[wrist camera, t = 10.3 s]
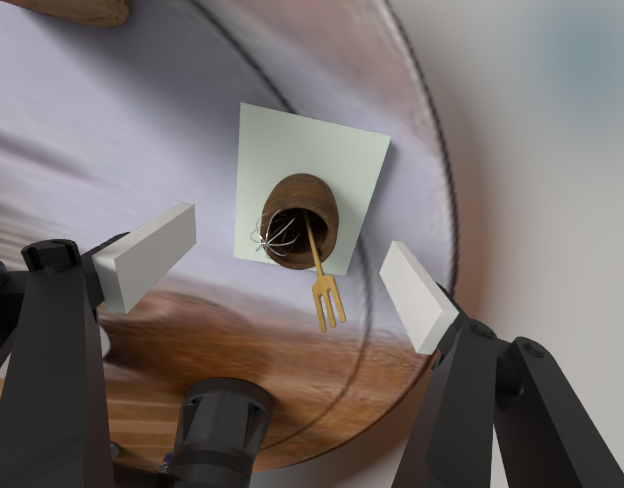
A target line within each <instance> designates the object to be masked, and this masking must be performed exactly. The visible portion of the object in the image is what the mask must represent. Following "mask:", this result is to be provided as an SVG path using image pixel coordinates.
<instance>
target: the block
mask: <svg viewBox="0 0 624 488" xmlns="http://www.w3.org/2000/svg"><path fill="white" fill-rule="evenodd" d="M0 1H3V2H7V3H10V4H13V5H16V6H20V7H23V8H26V9H30V10H33V11H37V12H39V13H42V14H45V15H48V16H52V17H55V18H59V19H62V20H66V21H70V22H74V23H79V24H83V25H89V26H95V27H115V26H119V25H122V24H124V23H125V22H126V20H127V19H128V17H129V1H128V0H0Z"/></svg>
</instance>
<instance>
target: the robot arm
mask: <svg viewBox="0 0 624 488" xmlns="http://www.w3.org/2000/svg"><path fill="white" fill-rule="evenodd" d="M195 243H196V228H195V204H190V203H185V202H181V203H179V204H178V205H176V206H174V207H173V208H171V209H169V210H168V211H166V212H164V213H163V214H161V215H159V216H158V217H156V218H154V219H153V220H151V221H149V222H148V223H146V224H144V225H143V226H141V227H139V228H137V229H136V230H134V231H132V232H126V233H123V234H120V235H116V236H114V237H113V238H111V239H109V240H107V242H104V243H102V244H100V246H97V247H95V248H93V249H91V250H90V251H88V252H86V253H84V254H83V255H81V256H80V253H79V250H78V247H77V244H76V243H75V242H74V241H71V240H66V239H51V240H45V241H40V242H36V243H33V244H30V245H28V246H26V247H24V248H23V249H22V250H21V253H22V256H23V258H24V260H25V262H26V265H27V267H28V269H29V271H7V269H6V267H5V265H4V264H3V263H2V261H0V368H1V366H2V365H3V363H4V362H5V360H6V359H7V357H8V356H9V354H10V353H11V356H10V360H9V365H8V369H7V374H6V378H5V382H4V386H3V391H2V395H1V400H0V488H249V485H250V479H251V474H252V469H253V464H254V461H255V459H256V456H257V454H258V452H259V449H260V447H261V445H262V442H263V440H264V438H265V435H266V433H267V430H268V428H269V426H270V423H271V419H272V412H273V401H272V399H271V397H270V396H269V395H268V394H267V393H266V392H265V391H264V390H263V389H261V388H259V387H258V386H256V385H254V384H251V383H249V382H246V381H242V380H238V379H231V378H213V379H207V380H203V381H201V382H198V383H196V384H194V385H193V386H192V387H191V388H190V389H189V390H188V392H187V394H186V396H185V398H184V400H183V403H182V405H181V408H180V414H179V420H178V426H177V432H176V438H175V445H174V451H173V454H172V457H171V459H170V461H169V464H168V466H167V469H166V471H165V473H161V472H157V471H154V470H150V469H146V468H143V467H139V466H136V465H132V464H128V463H125V462H121V461H118V460H114V459H112V454H111V443H110V433H109V422H108V412H107V401H106V391H105V381H104V370H103V360H102V349H101V339H100V328H99V318H98V312H97V308H96V307H97V306H99V305H100V304H101V303H102V302H103V301H104V302H105V305H106V309H107V312H115V313H122V314H127V313H128V312H129V311H130V310H131V309H132V308H133V307H134V306H135V305H136V304H137V303H138V302H139V301H140V300H141V299H142V298H143V297H144V296H145V295H146V294H147V292H148V291H149V290H150V289H151V288H152V287H153V286H154V285H155V284H156V283H157V282H158V281H159V280H160V279H161V278H162V277H163V276H164V275H165V274H166V273H167V272H168V271H169V270H170V269H171V268H172V267H173V266H174V265H175V264H176V263H177V262H178V261H179V260H180V259H181V258H182V257H183V256H184V255H185V254H186V252H187V251H188V250H189V249H190V248H191V247H192V246H193V245H194V244H195ZM379 274H380V276H381V278H382V280H383V282H384V284H385V286H386V288H387V291H388V293H389V295H390V297H391V299H392V301H393V303H394V306H395V308H396V310H397V312H398V314H399V316H400V318H401V321H402V323H403V325H404V327H405V329H406V331H407V333H408V336H409V338H410V340H411V342H412V344H413V346H414V348H415V351H416V353H422V354H429V355H432V353H433V352H434V350H435V349H436V347H437V346H438V348H439V350H440V351H441V355H440V356H439V357H438V359H437V360H436V362H435V363H434V365H433V366H432V368H431V369H432V370H433V373H432V376H431V379H430V381H429V384H428V387H427V390H426V393H425V395H424V398H423V401H422V404H421V406H420V409H419V412H418V415H417V418H416V420H415V423H414V426H413V428H412V431H411V434H410V437H409V440H408V442H407V445H406V448H405V451H404V453H403V456H402V459H401V462H400V464H399V467H398V470H397V473H396V475H395V478H394V481H393V484H392V486H391V488H490V479H491V461H492V441H493V423H494V427H495V431H496V435H497V440H498V444H499V448H500V452H501V457H502V461H503V465H504V469H505V473H506V478H507V482H508V486H509V488H624V473H623V472H622V470H621V469H620V467H619V465H618V463H617V462H616V460H615V458H614V457H613V455H612V453H611V452H610V450H609V449H608V447H607V445H606V443H605V442H604V440H603V438H602V437H601V435H600V434H599V432H598V430H597V429H596V427H595V425H594V424H593V422H592V420H591V419H590V417H589V416H588V414H587V412H586V410H585V409H584V407H583V406H582V404H581V402H580V400H579V399H578V397H577V395H576V394H575V392H574V391H573V389H572V387H571V385H570V384H569V382H568V380H567V379H566V377H565V375H564V374H563V372H562V371H561V369H560V367H559V366H558V364H557V362H556V361H555V359H554V357H553V356H552V355H551V354H550V352H548V351H547V350H546V349H545V348H544V347H543V346H542V345H539V343H537V342H535V341H533V340H530V339H528V338H525V337H517V338H516V339H515V340H514V341H513V342H512V343H509V342H507V341H504V340H501V339H499V338H497V336H496V334H495V333H494V332H493V331H492V330H491V329H490V328H489V327H488V326H486V325H485V324H483V323H482V322H480V321H477V320H475V319H470V318H469V317H468V316H467V315H466V314H465V312H463V310H462V309H461V308H460V306H459V305H458V304H457V303H456V302H455V300H454V299H453V298H452V297H450V294H449V293H448V292H447V291H446V289H445V288H443V287H442V286H441V285H439V284H438V283H436V282H434V280H433V279H432V278H431V277H430V275H429V274H428V273H427V272H426V270H425V269H424V268H423V267H422V265H421V264H420V263H419V262H418V260H417V259H416V258H415V256H414V255H413V254H412V253H411V251H410V250H409V249H408V248H407V246H406V245H405V244H404V243H403V242H399V241H392V243H391V246H390V248H389V251H388V253H387V255H386V258H385V260H384V263H383V265H382V268H381V270H380V273H379Z"/></svg>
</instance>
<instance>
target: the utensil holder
mask: <svg viewBox="0 0 624 488" xmlns="http://www.w3.org/2000/svg"><path fill="white" fill-rule="evenodd" d="M260 218H261V226H260V227H258V228H260V234H259V232H258V228H257V222H258V220H259V219H260ZM260 218H259V219H258V220H257V221H256V228H257V229H256V230H257V232H258V234H259V236H260V239H261V243H260V242H257V241H254V240H253V239H252V238H251V235H252V233H254V232H255V231H256V230H254V231H253V232H252V233H251V234H250V238H251V240H253V241H254V242H257V243H260V244H261V245H262V247H261V248H263V249H264V250H265V252H266V256H267V255H268V256H269V257H270V258H268V256H267V258H268V259H272V260H273V261H274V262H276V263H277V264H279V265H281V266H283V267H286V268H289V269H295V270H304V269H310V268H313V267H315V266H316V269H317V273H318V280H317V281H316V282H315V284H314V285H313V287H312V291H313V296H314V300H315V305H316V309H317V314H318V319H319V323H320V328H321V332H322V333H325V332H326V331H327V328H326V323H325V318H324V313H323V308H322V303H321V299H320V298H321V296H322V295H323V298H324V302H325V306H326V310H327V314H328V318H329V322H330V326H331V327H332V328H334V327H336V321H335V317H334V313H333V309H332V305H331V300H330V296H329V291H330V290H331V291H332V294H333V297H334V301H335V304H336V308H337V311H338V314H339V318H340V321H341V322H345V321H346V317H345V313H344V310H343V306H342V303H341V299H340V296H339V292H338V289H337V285H336V282H335V279H334V277H332V276H331V275H325V276H324V273H323V269H322V265H321V263H323V262H324V261H325V260H326V259H327V258H328V257H329V256H330V255H331V253H332V252H333V250H334V247H335V245H336V241H337V234H338V228H339V213H338V208H337V204H336V201H335V198H334V195H333V193H332V191H331V189H330V188H329V186H328V185H327V184H326V183H325V182H324V181H323V180H321V179H320V178H318V177H316V176H314V175H311V174H306V173H298V174H293V175H290V176H288V177H286V178H284V179H283V180H281V181H280V182H279V183H278V184H277V185H276V186H275V187H274V189H273V190H272V192H271V193H270V195H269V197H268V199H267V200H266V202H265V205H264V207H263V211H262V216H261V217H260ZM261 245H260V246H261ZM260 246H259V247H260ZM259 247H258V248H257V249H256V252H257V251H258V250H260V249H261V248H260V249H259Z"/></svg>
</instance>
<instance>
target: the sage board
mask: <svg viewBox="0 0 624 488" xmlns="http://www.w3.org/2000/svg"><path fill="white" fill-rule="evenodd" d="M390 140H391V136H387V135H383V134H378V133H374V132H369V131H365V130H361V129H356V128H352V127H347V126H343V125H339V124H334V123H330V122H326V121H321V120H317V119H312V118H308V117H304V116H299V115H295V114H290V113H286V112H282V111H277V110H273V109H268V108H264V107H260V106H255V105H251V104H247V103H242V102H240V125H239V148H238V171H237V194H236V217H235V240H234V257H235V258H241V259H247V260H253V261H259V262H265V263H271V264H277V263H276V262H274V261H273V260H272V259H268V258H270V257H269V256H268V255H267V256H268V258H267V256H266V252H265V250H264V249H263V248H261V247H262V245H261V244H260V243H261V239H260V236H259V234H260V228H258V227H260V226H261V218H260V217H261V216H262V211H263V207H264V205H265V202H266V200H267V199H268V197H269V195H270V193H271V192H272V190H273V189H274V187H275V186H276V185H277V184H278V183H279V182H280V181H281V180H283V179H284V178H286V177H288V176H290V175H293V174H298V173H306V174H311V175H314V176H316V177H318V178H320V179H321V180H323V181H324V182H325V183H326V184H327V185H328V186H329V188H330V189H331V191H332V193H333V195H334V198H335V201H336V204H337V208H338V213H339V228H338V234H337V241H336V245H335V247H334V250H333V252H332V253H331V255H330V256H329V257H328V258H327V259H326V260H325V261H324V262H323V263H321V265H322V269H323V272H324V273H330V274H336V275H342V276H346V273H347V270H348V267H349V264H350V261H351V258H352V255H353V252H354V249H355V246H356V242H357V239H358V236H359V233H360V230H361V227H362V224H363V221H364V218H365V215H366V212H367V209H368V206H369V203H370V200H371V197H372V194H373V191H374V188H375V185H376V182H377V179H378V176H379V173H380V170H381V167H382V164H383V161H384V158H385V155H386V152H387V149H388V146H389V143H390ZM259 218H260V219H259ZM258 219H259V220H258ZM257 220H258V222H257V228H258V232H259V234H258V232H257V230H256V229H257V228H256V221H257ZM254 230H256V231H255V232H254V233H252V232H253V231H254ZM251 233H252V235H251V238H252V239H253V240H254V241H257V242H260V243H257V242H254V241H253V240H251V238H250V234H251ZM260 245H261V246H260ZM259 246H260V247H259ZM258 247H259V249H260V248H261V249H260V250H258V251H257V252H256V249H257V248H258ZM277 265H279V264H277ZM307 270H313V271H317V269H316V266H315V267H313V268H310V269H307Z"/></svg>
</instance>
